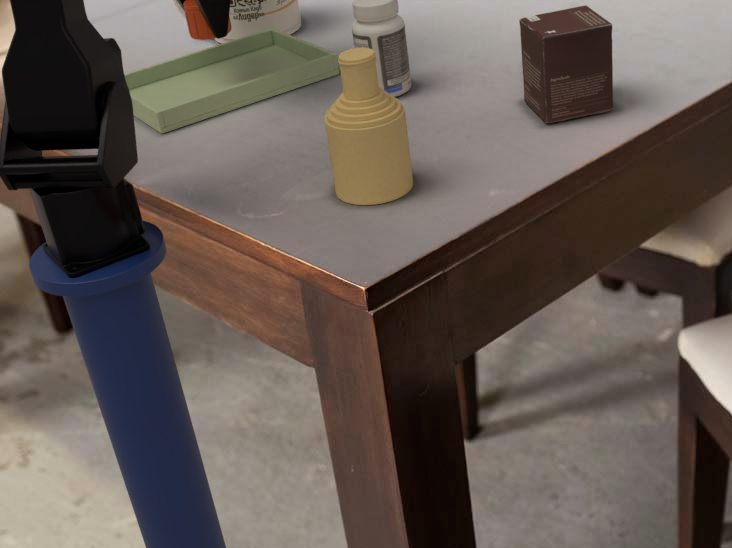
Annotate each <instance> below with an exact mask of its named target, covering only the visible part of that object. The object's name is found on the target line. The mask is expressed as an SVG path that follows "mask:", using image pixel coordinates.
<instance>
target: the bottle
mask: <svg viewBox="0 0 732 548" xmlns="http://www.w3.org/2000/svg"><path fill="white" fill-rule="evenodd" d="M375 56H376V52H375V51H374V50H372V49H370V48H350V49H346V50H343V51H342V52H340V53H339V54H338V56H337V60H338V65H339V72H340V77H341V85H342V92H341V93H340V94H339V96H338V97H337V98H336V99H335V101H334V102H333V103H332V104H331V106H330V107H329V108H328V109H327V110H326V113H325V116H324V127H325V133H326V139H327V145H328V152H329V159H330V164H331V170H332V177H333V178H332V179H333V185H334V191H335V195H336V197H337V198H338V199H339V200H340V201H342V202H344V203H347V204H350V205H356V206H375V205H381V204H385V203H389V202H393V201H395V200H398V199H400V198H402V197H404V196H405V195H407V194H409V192H411V190H412V188H413V185H414V177H413V168H412V161H411V160H412V159H411V152H410V150H411V149H410V141H409V134H408V125H407V124H408V123H407V118H406V117H407V116H406V108H405V106H404V105H403V104H402V102H401V100H400V99H398V97H394V96H392V95H390V94H389V93H388V92H386V91H384V90H383V89H382V88H380V87H379V85H378V77H377V69H376V61H377V60H376V57H375Z"/></svg>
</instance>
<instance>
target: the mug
mask: <svg viewBox="0 0 732 548" xmlns="http://www.w3.org/2000/svg"><path fill="white" fill-rule="evenodd" d="M172 2H173V5H174V6H175V8H176V9H177V11H178V12H179V13H180V15H181V16H182V17H183V18H184V19H185V20H186V16H185V12H184V10H183V9H182V7H181V6H180V4H179V3H178V1H177V0H172ZM229 16H230V21H231V26H232V28H231V31H230V32H229V33H228V34H227V36H226V37H223V38H220V39H217V38H214V40H215V42H217V43H219V44H223V43H226V42H229V41H233V40H236V39H239V38H242V37H246V36H249V35H252V34H255V33H259V32H262V31H265V30H268V29H272V28H274V29H276V30H279V31H281V32H284V33H286V34H289V35H292V34H295V33H296V32H297V31H298V30H299V29H300V28H301V26H302V18H301V17H302V16H301V11H300V6H299V0H231V2H230V12H229Z"/></svg>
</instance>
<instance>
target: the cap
mask: <svg viewBox="0 0 732 548" xmlns="http://www.w3.org/2000/svg"><path fill="white" fill-rule="evenodd" d="M183 5H184V11H185V16H186V19H185V21H186V24H187V29H188V34H189V36H190V38H191V39H193V40H200V41H202V40H203V41H204V40H213V39H215V38H216V37H215V36H214V34H213V33H212V31H211V29H210V28H209V26H208V24H207V22H206V20H205V19H204V17H203V15H202V13H201V11H200V9H199V8H198V6H197V4H196V2H195V0H186V1H185V2H184V3H183ZM231 28H232V26H231V21H230V16H229V23H228V33H229V32H230V31H231ZM228 33H227V34H228Z"/></svg>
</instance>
